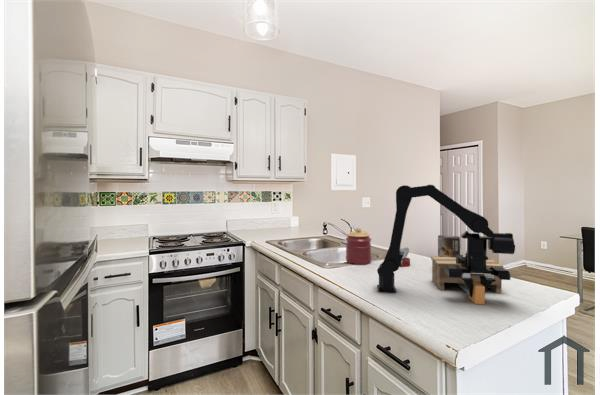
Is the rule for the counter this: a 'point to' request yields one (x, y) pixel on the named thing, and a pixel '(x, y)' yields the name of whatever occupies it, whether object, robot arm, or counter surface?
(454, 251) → the coffee box
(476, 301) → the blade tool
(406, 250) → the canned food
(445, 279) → the cabinet
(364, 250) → the canister
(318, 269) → the counter surface
